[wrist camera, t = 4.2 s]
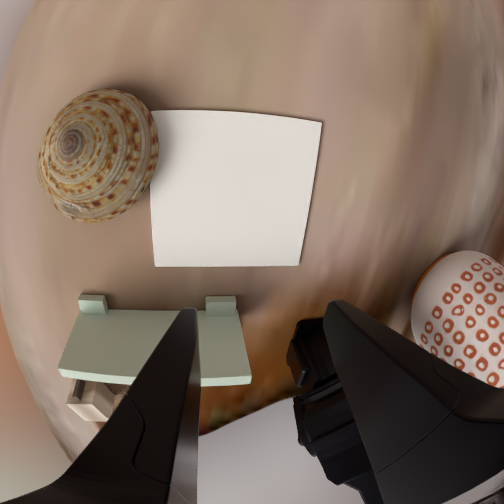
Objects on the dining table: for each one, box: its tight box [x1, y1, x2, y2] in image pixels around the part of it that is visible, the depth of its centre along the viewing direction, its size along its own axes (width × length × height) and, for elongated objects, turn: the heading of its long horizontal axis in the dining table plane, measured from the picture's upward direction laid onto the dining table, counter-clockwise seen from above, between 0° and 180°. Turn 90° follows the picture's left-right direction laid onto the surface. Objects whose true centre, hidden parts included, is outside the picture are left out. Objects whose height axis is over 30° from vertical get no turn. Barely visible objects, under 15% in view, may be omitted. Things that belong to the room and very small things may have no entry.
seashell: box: [37, 89, 159, 223], centre depth 14 cm, size 8×6×8 cm
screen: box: [58, 294, 252, 386], centre depth 19 cm, size 14×4×7 cm, turn 85°
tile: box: [150, 110, 322, 267], centre depth 18 cm, size 11×11×1 cm
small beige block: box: [66, 378, 115, 421], centre depth 24 cm, size 4×5×4 cm
